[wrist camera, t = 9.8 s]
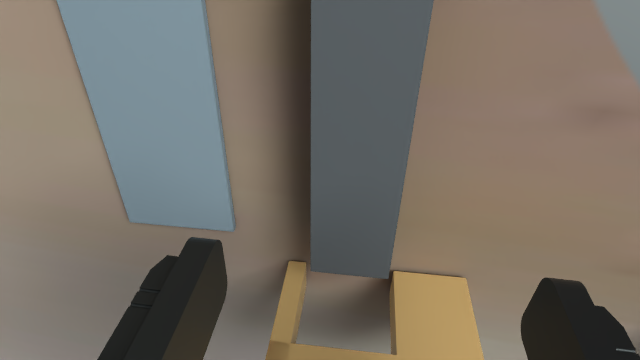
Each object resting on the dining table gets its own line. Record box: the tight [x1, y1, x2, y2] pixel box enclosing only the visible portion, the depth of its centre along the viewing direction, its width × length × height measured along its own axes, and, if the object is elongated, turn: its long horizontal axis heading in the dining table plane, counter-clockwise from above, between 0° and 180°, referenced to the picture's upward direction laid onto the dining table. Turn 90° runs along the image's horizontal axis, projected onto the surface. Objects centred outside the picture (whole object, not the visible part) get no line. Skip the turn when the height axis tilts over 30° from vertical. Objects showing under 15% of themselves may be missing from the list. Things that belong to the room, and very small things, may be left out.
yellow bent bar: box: [265, 261, 484, 360], centre depth 21 cm, size 2×10×7 cm, turn 89°
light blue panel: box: [57, 0, 236, 232], centre depth 19 cm, size 14×6×1 cm, turn 179°
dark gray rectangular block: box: [311, 0, 434, 279], centre depth 17 cm, size 14×4×3 cm, turn 179°
